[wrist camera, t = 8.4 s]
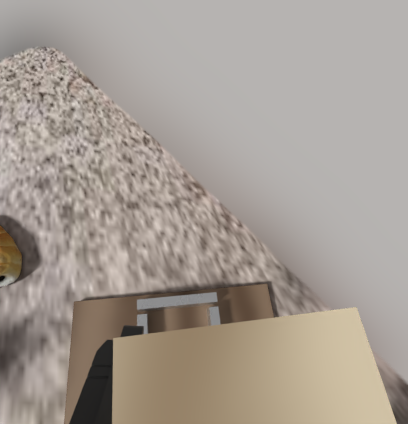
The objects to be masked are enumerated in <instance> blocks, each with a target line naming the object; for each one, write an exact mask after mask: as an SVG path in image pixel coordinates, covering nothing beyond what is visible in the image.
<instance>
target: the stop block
mask: <svg viewBox="0 0 408 424" xmlns="http://www.w3.org/2000/svg"><path fill="white" fill-rule="evenodd" d="M112 424H397V423H396V420H395V417H394V414H393V411H392V408H391V405H390V403H389V400H388V397H387V394H386V391H385V388H384V385H383V382H382V379H381V377H380V374H379V371H378V368H377V365H376V362H375V359H374V356H373V353H372V351H371V348H370V345H369V342H368V339H367V336H366V333H365V330H364V328H363V325H362V322H361V319H360V316H359V313H358V310H357V308H356V307H354V308H347V309H338V310H330V311H322V312H314V313H307V314H299V315H291V316H283V317H275V318H267V319H260V320H252V321H244V322H236V323H228V324H220V325H213V326H205V327H197V328H189V329H181V330H173V331H166V332H158V333H150V334H142V335H134V336H126V337H119V338H113V395H112Z"/></svg>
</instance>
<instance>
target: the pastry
mask: <svg viewBox="0 0 408 424" xmlns="http://www.w3.org/2000/svg"><path fill="white" fill-rule="evenodd" d="M21 267H22V255H21V252H20V251H19V249H18V248H17V246H16V244H15V242H14V240H13V238H12V237H11V236H10V235H9V234H8V233H7V232H6V231H5V230H4V229H3V228H2V226H0V287H1V286H6V285H9V284H11V283H13V282H14V281H15V280H16V279H17V278H18V277H19V275H20V272H21Z"/></svg>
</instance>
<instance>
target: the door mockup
mask: <svg viewBox="0 0 408 424" xmlns="http://www.w3.org/2000/svg"><path fill="white" fill-rule="evenodd" d="M212 292H216V293H217V301H218V302H217V303H215V304H213V305H203V306H193V307H183V308H174V309H164V310H154V311H144V312H138V310H137V300H139V299H149V298H160V297H170V296H181V295H191V294H202V293H212ZM217 306H218V308H219V316H220V324H228V323H236V322H244V321H252V320H260V319H267V318H274V314H273V310H272V305H271V300H270V295H269V291H268V286H267V284H259V285H248V286H238V287H227V288H216V289H205V290H194V291H184V292H173V293H162V294H151V295H141V296H130V297H119V298H108V299H98V300H87V301H76V302H74V310H73V322H72V334H71V346H70V358H69V370H68V382H67V394H66V407H65V419H64V424H69V423H70V420H71V417H72V415H73V412H74V409H75V407H76V404H77V402H78V399H79V396H80V394H81V391H82V388H83V386H84V383H85V380H86V379H87V375H88V372H89V370H90V367H91V365H92V362H93V359H94V357H95V354H96V351H97V350H98V349H99V348H100V347H101V346H102V344H103V343H104V342H105V341H106V340H113V338H119V337H120V336H121V333H122V330H123V327H124V325H131V326H137V315H140V314H147V315H148V334H150V333H158V332H166V331H173V330H181V329H189V328H197V327H205V326H208V319H207V309H208V308H209V307H217Z"/></svg>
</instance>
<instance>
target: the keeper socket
mask: <svg viewBox="0 0 408 424" xmlns="http://www.w3.org/2000/svg"><path fill="white" fill-rule="evenodd" d="M217 302H218V301H217V293H216V292H212V293H202V294H191V295H181V296H170V297H160V298H149V299H139V300H137V310H138V312H144V311H154V310H164V309H174V308H183V307H193V306H203V305H213V304H215V303H217ZM207 319H208V326H213V325H220V316H219V308H218V306H217V307H209V308H208V309H207ZM137 326H144V334H148V315H147V314H140V315H137Z"/></svg>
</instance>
